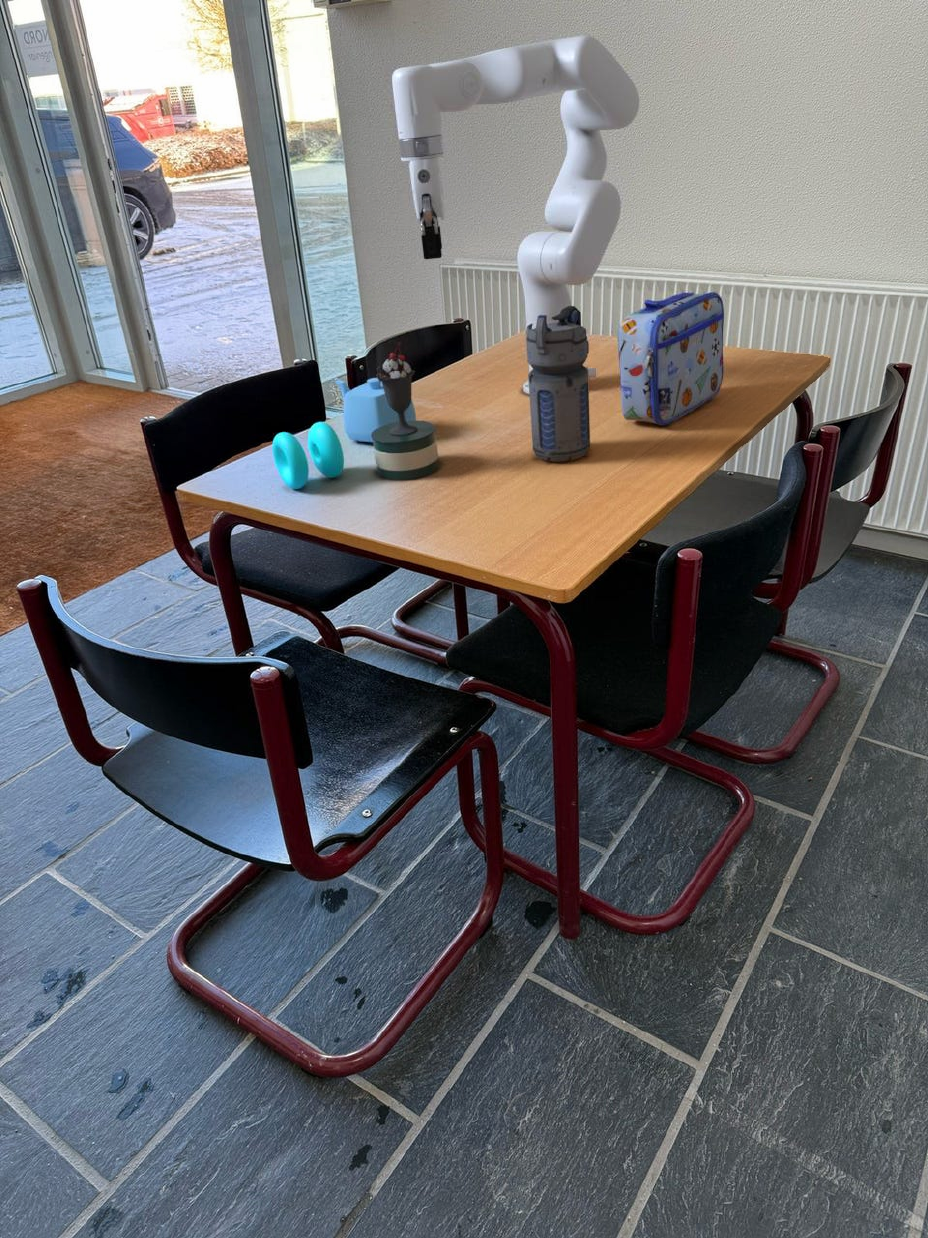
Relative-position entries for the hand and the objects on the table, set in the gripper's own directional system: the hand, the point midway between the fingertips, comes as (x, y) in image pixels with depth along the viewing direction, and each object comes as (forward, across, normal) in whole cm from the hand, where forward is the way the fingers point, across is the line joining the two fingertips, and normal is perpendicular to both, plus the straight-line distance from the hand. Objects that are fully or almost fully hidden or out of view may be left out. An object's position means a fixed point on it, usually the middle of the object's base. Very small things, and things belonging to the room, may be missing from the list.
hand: (433, 253), depth 165 cm
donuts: (+32, -24, +25) cm, 48 cm away
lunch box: (+32, -6, -43) cm, 54 cm away
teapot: (+32, -2, +15) cm, 36 cm away
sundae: (+26, -22, +8) cm, 35 cm away
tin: (+32, -22, +8) cm, 40 cm away
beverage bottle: (+32, -22, -20) cm, 44 cm away
